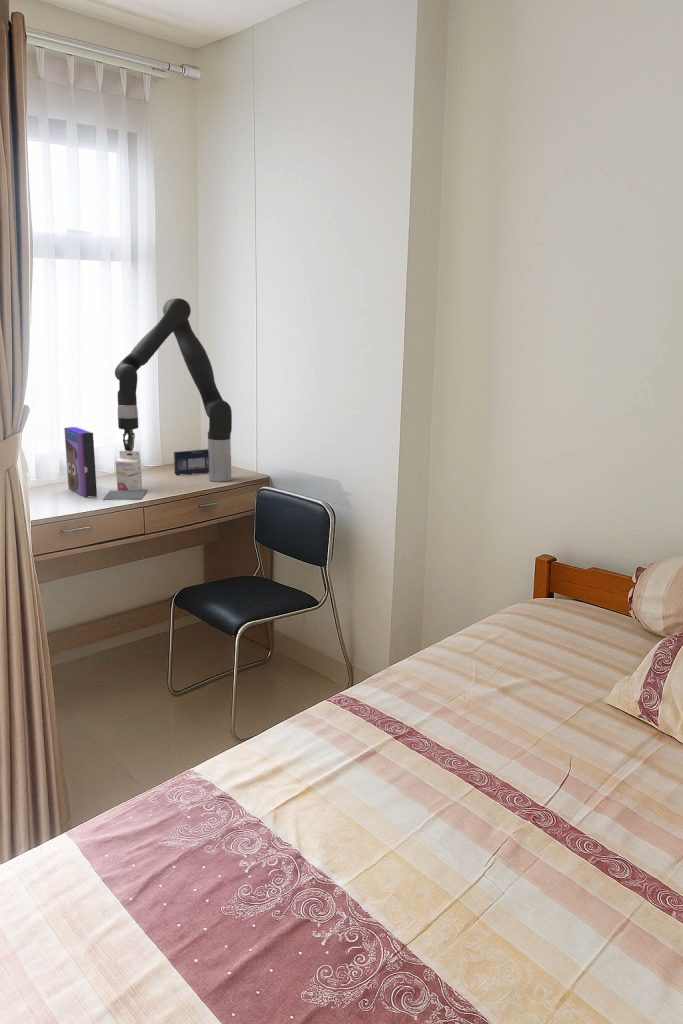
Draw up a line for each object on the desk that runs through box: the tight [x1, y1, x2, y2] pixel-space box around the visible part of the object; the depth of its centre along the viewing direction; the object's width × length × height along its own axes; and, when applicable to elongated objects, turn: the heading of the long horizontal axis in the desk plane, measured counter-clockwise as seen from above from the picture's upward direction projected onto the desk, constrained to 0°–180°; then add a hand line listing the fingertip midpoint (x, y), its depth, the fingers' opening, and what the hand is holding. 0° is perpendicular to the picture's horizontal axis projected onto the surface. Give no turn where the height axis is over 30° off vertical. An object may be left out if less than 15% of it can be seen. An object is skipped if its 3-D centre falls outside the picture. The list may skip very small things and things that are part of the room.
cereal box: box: [63, 426, 98, 498], centre depth 294 cm, size 17×5×24 cm, turn 37°
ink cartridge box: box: [115, 450, 143, 490], centre depth 301 cm, size 9×5×15 cm, turn 84°
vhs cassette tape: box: [173, 448, 209, 476], centre depth 335 cm, size 18×3×10 cm, turn 119°
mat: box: [102, 489, 148, 500], centre depth 293 cm, size 14×14×1 cm
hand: (130, 460), depth 305 cm, fingers closed
